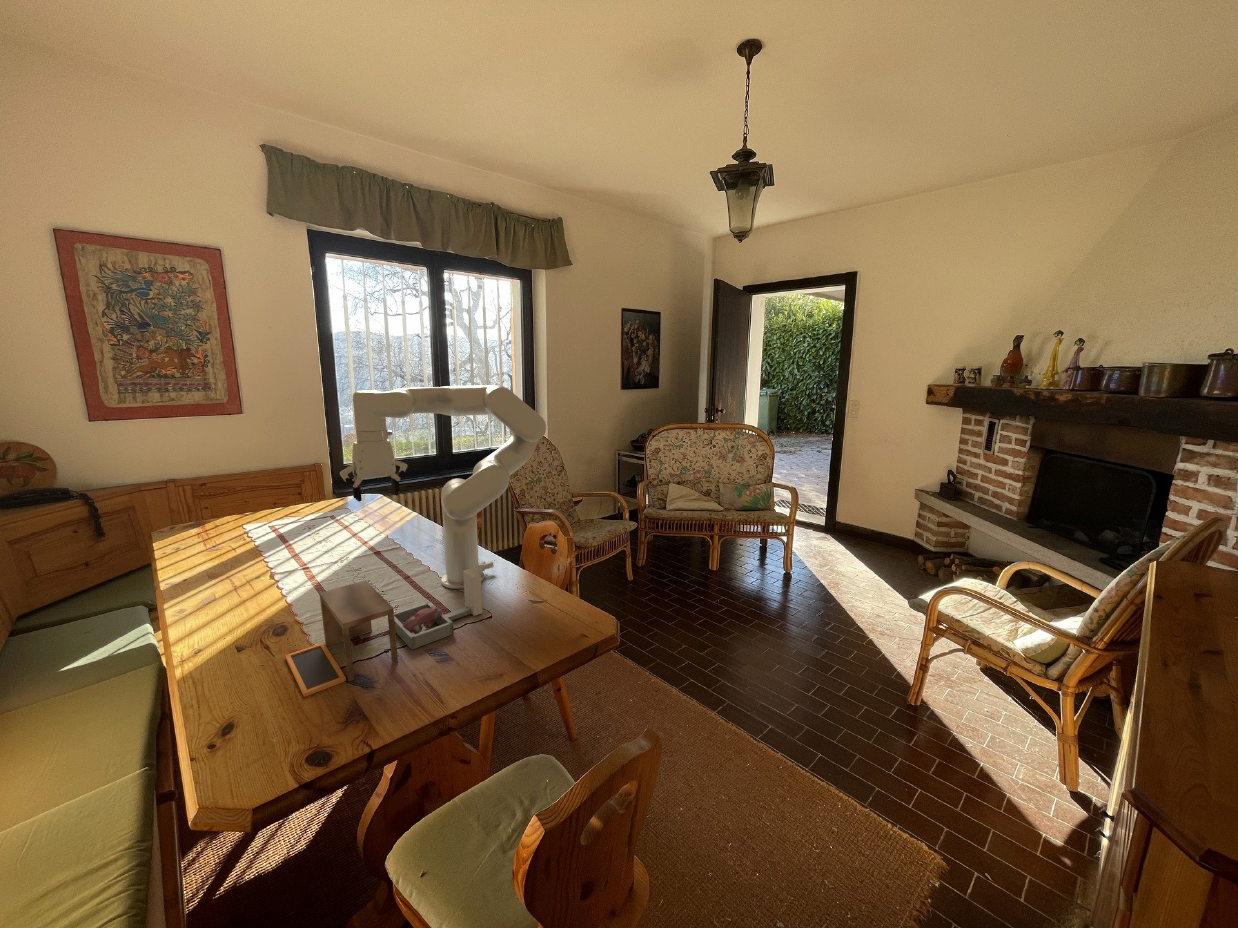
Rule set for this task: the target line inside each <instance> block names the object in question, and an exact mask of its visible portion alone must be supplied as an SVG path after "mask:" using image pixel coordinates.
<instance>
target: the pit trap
mask: <svg viewBox="0 0 1238 928" xmlns="http://www.w3.org/2000/svg"><path fill="white" fill-rule="evenodd" d="M284 656H285V661H286V662H287V665H288V667H289V669H290V670H291V673H292V675H293V677H294V679H295V681H296V683H297V685H298V688H299V690H300V691H301V693H302V696H303V698H305V697H308V696H311V695H313V694H316V693H318V692H321V691H323V690H326V689H328V688H331V687H335V686H337V685H339V684H341V683H344V682H346V681H347V679H346V678H347V676H345V674H344V673H343V671H342V669H341V668H340V666H339V665H338V663H337V661H336V660H335V658H334V657H333V655H332V654H331V652H330V651H329V649H328V646H326V644H325V642H322V643H317V644H315V645H312V646H308V647H306V648H303V649H300V650H296V651H294V652H291V653H288V654H286V655H284Z"/></svg>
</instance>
